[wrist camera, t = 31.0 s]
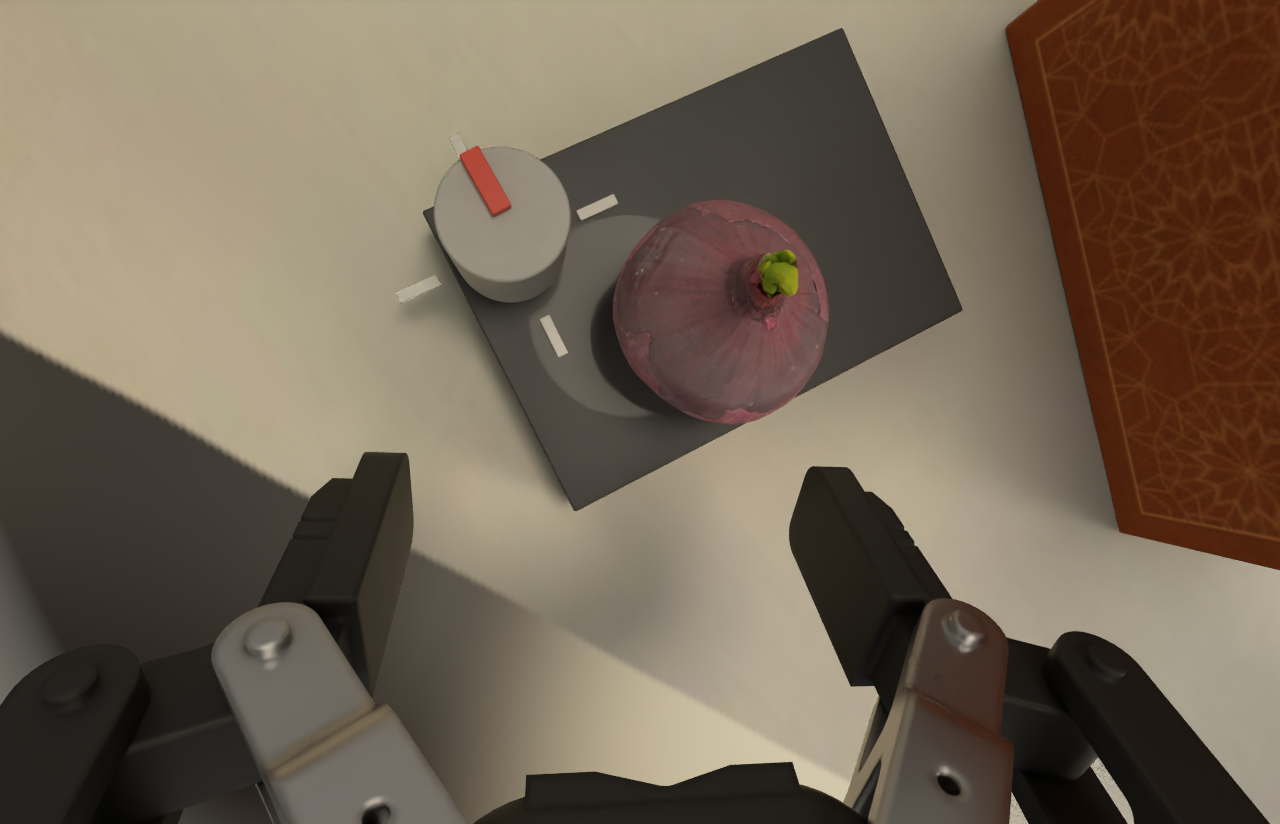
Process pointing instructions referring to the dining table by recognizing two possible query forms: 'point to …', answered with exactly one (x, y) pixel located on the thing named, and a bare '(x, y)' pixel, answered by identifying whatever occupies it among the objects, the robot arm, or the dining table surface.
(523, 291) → the burner knob
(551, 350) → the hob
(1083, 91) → the book
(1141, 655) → the dining table surface
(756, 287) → the vegetable
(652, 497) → the dining table surface
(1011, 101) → the dining table surface
